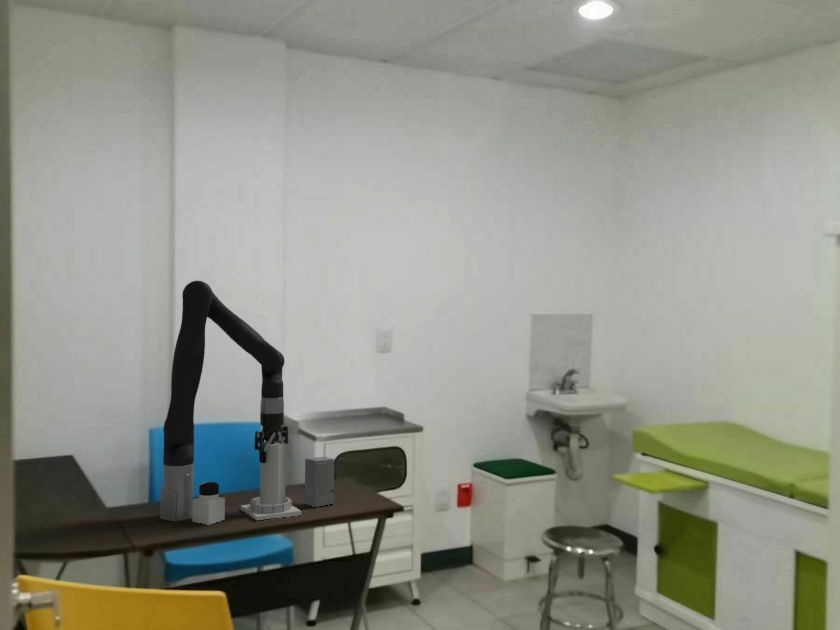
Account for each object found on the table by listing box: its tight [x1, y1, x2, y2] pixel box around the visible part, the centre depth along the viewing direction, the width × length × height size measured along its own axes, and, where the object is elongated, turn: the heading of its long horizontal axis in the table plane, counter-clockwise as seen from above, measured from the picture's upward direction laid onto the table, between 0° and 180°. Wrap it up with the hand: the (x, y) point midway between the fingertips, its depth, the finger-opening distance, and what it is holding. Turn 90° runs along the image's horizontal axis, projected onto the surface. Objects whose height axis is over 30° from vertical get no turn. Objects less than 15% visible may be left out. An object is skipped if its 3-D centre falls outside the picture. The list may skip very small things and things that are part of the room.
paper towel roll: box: [259, 442, 287, 505], centre depth 270 cm, size 7×6×21 cm
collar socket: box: [240, 496, 302, 521], centre depth 270 cm, size 15×15×4 cm
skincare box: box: [304, 456, 335, 508], centre depth 281 cm, size 8×7×16 cm
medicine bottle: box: [191, 481, 226, 526], centre depth 259 cm, size 7×7×12 cm
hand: (271, 460), depth 269 cm, fingers open, 8 cm apart
